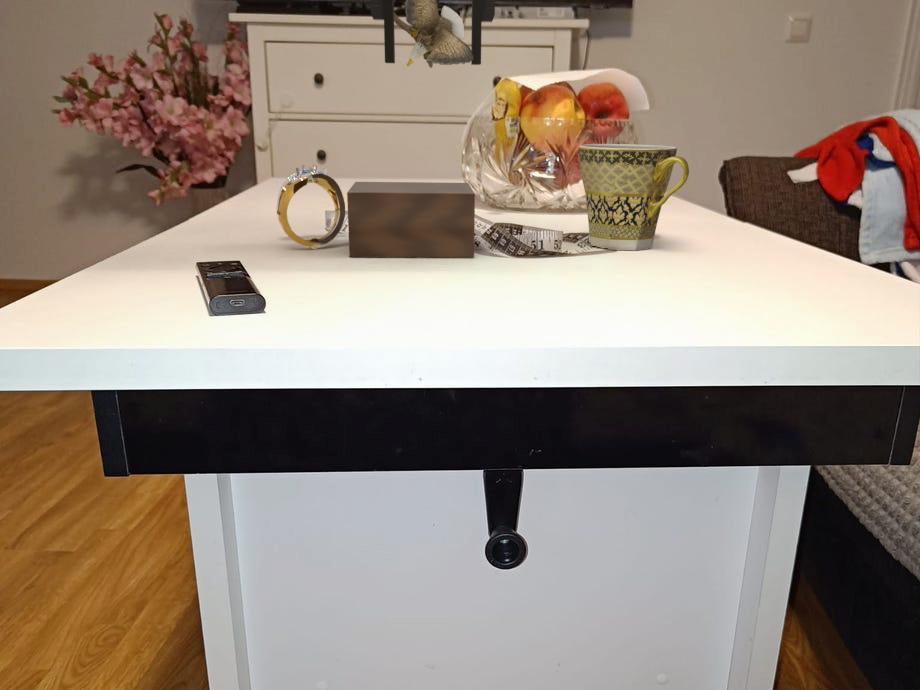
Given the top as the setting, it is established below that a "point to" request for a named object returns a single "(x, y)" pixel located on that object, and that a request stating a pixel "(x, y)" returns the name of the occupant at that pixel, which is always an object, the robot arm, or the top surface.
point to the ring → (292, 187)
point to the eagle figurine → (435, 33)
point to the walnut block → (411, 220)
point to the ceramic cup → (626, 191)
